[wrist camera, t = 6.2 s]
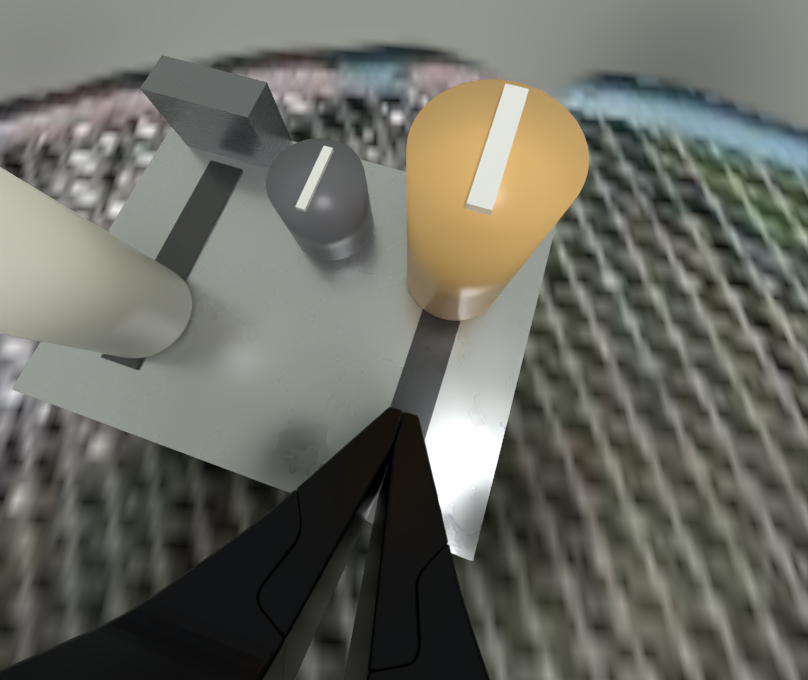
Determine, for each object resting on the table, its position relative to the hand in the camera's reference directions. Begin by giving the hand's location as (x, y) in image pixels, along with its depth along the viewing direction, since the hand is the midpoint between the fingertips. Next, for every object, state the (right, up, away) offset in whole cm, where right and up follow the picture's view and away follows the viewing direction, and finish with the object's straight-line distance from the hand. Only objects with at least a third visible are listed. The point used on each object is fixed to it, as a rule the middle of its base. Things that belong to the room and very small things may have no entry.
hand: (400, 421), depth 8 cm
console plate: (-5, +4, +7) cm, 9 cm away
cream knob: (-12, +4, +6) cm, 14 cm away
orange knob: (+2, +5, +6) cm, 8 cm away
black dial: (-3, +8, +7) cm, 11 cm away
